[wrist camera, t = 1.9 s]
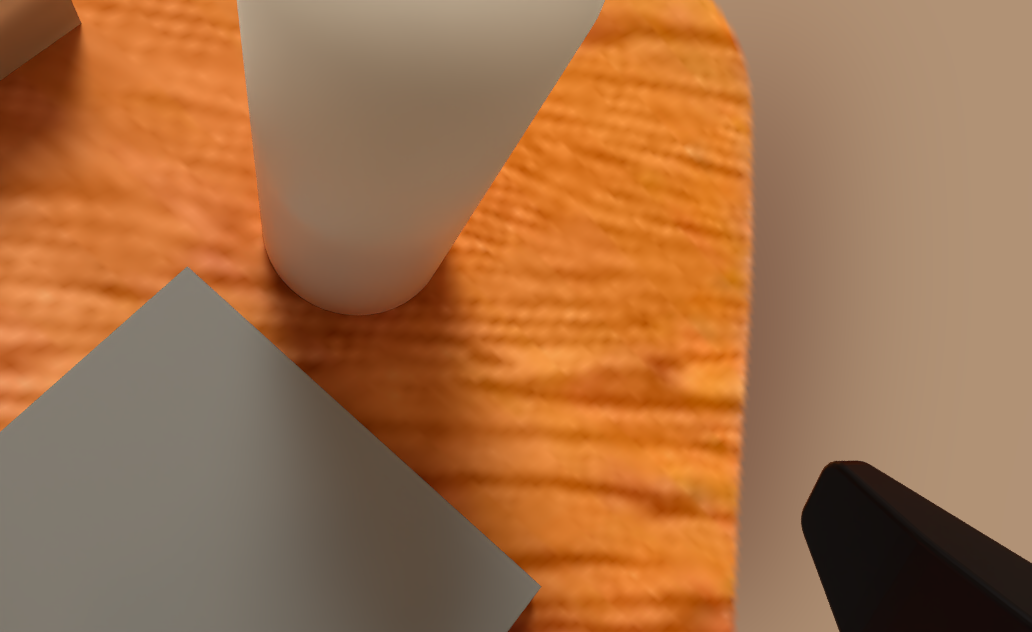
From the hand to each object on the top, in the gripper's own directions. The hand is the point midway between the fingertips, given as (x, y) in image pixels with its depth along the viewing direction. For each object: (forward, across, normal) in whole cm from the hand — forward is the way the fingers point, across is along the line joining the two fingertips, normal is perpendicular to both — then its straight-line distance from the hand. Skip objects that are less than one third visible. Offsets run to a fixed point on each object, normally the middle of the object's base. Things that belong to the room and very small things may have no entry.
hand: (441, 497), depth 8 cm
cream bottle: (+14, 0, +4) cm, 15 cm away
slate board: (+7, +4, +11) cm, 14 cm away
